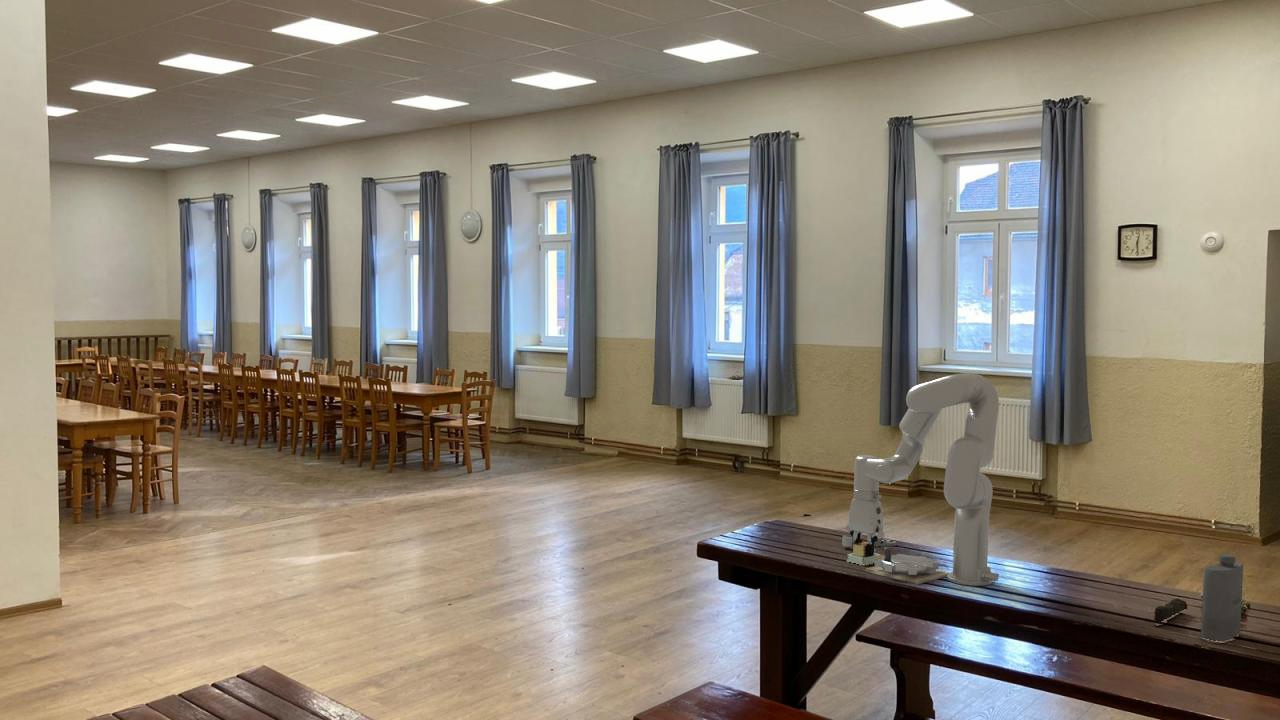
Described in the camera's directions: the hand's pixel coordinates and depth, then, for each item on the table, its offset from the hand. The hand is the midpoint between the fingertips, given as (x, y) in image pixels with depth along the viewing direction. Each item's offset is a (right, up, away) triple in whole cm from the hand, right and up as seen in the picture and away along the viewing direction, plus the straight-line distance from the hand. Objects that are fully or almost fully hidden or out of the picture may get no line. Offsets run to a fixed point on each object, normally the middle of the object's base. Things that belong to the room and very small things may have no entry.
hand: (864, 554), depth 327 cm
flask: (+72, -7, -71) cm, 101 cm away
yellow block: (0, -1, 0) cm, 1 cm away
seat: (0, -2, 0) cm, 2 cm away
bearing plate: (+9, -3, -14) cm, 17 cm away
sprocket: (+9, -1, -14) cm, 17 cm away
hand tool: (+66, -7, -57) cm, 87 cm away
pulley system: (+4, -2, +21) cm, 21 cm away
